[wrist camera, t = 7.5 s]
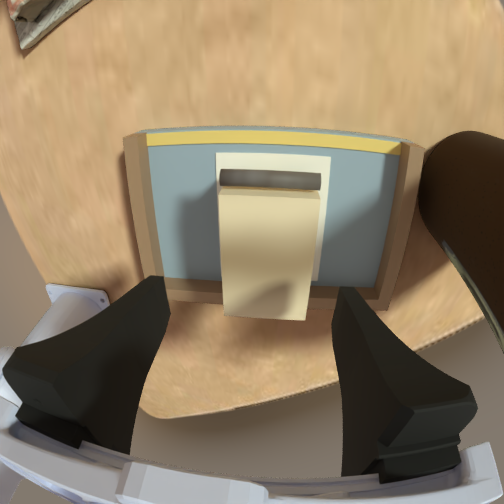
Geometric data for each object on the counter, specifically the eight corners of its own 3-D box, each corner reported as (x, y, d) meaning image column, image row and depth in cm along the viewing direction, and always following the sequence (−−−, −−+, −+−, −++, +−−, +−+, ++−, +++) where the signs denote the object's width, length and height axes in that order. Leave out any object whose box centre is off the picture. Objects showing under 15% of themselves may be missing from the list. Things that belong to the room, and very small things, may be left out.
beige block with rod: (301, 265, 22) (304, 320, 17) (237, 262, 22) (223, 315, 17) (310, 151, 18) (322, 177, 13) (235, 148, 18) (217, 173, 13)
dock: (378, 286, 24) (387, 310, 21) (161, 276, 25) (148, 297, 23) (406, 139, 18) (424, 148, 15) (142, 130, 19) (122, 137, 17)
